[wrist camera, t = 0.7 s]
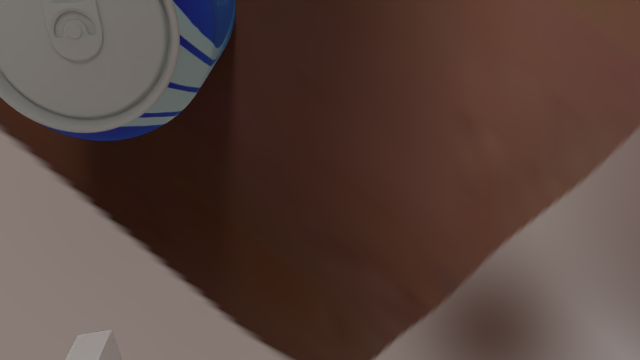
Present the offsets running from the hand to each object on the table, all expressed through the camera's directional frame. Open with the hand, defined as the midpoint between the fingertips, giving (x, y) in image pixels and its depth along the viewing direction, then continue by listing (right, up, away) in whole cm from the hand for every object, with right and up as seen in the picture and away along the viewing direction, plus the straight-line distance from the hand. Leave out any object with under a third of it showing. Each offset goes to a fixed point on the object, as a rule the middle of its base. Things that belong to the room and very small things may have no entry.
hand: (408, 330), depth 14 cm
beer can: (-11, +13, +21) cm, 27 cm away
